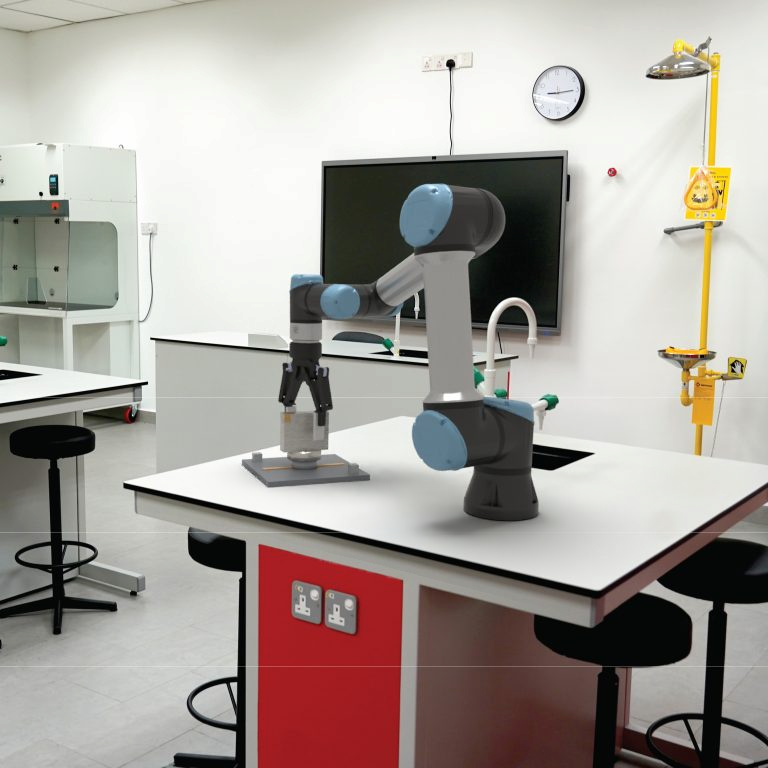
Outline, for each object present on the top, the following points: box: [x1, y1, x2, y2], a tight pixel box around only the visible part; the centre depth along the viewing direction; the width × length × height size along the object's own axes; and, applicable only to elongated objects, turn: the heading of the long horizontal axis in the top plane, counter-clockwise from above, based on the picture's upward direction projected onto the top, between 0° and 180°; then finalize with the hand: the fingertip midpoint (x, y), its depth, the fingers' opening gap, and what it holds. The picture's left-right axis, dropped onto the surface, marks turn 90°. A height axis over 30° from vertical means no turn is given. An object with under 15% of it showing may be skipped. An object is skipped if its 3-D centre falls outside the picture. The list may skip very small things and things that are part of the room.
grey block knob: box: [279, 410, 330, 462], centre depth 213 cm, size 11×8×11 cm
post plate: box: [241, 451, 371, 488], centre depth 214 cm, size 24×24×3 cm
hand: (304, 436), depth 213 cm, fingers open, 9 cm apart
